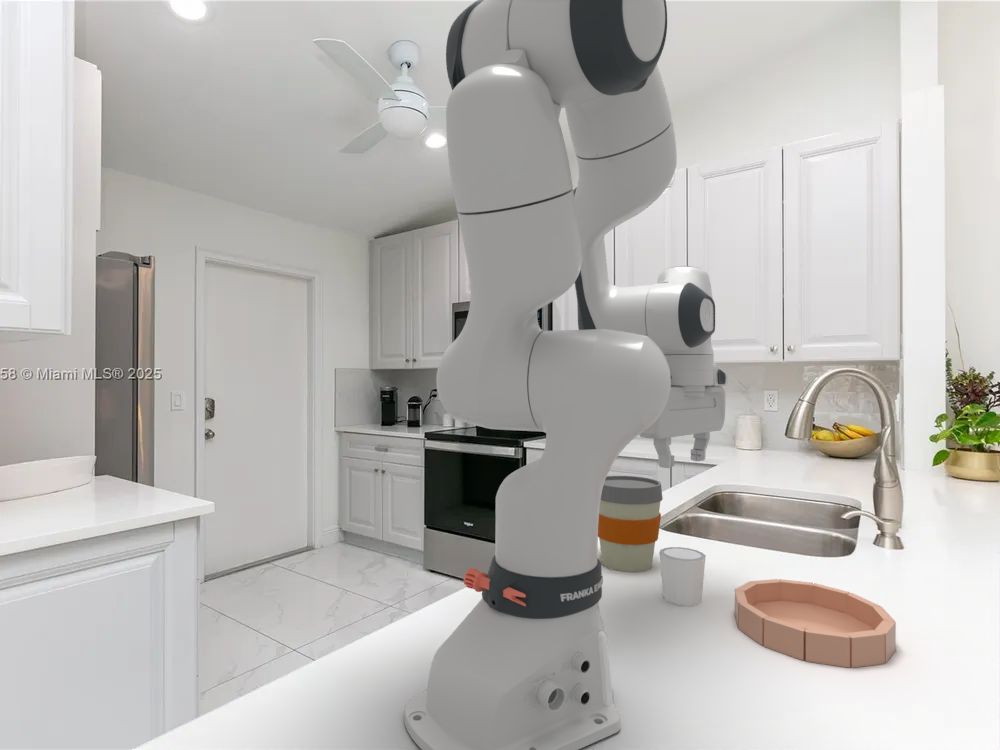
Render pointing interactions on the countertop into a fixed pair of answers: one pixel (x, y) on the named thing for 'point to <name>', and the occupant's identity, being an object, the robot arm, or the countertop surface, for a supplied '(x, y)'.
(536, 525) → the robot arm
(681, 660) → the countertop surface
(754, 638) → the terracotta round tray
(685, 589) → the white tapered cup
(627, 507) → the reusable coffee cup
